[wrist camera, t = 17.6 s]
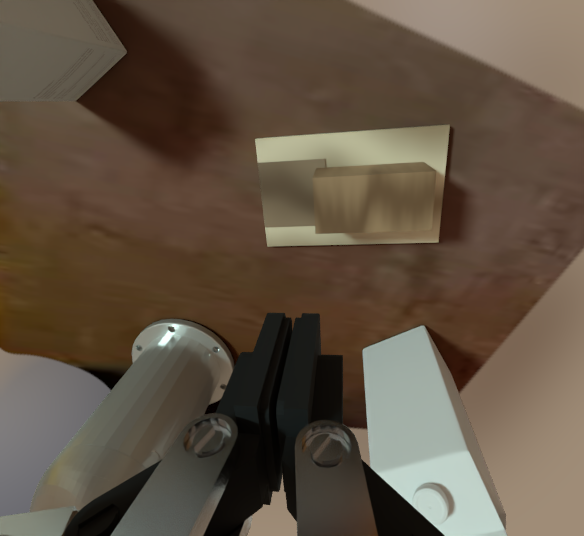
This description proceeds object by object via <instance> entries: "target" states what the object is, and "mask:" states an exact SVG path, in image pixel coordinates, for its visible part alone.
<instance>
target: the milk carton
mask: <svg viewBox="0 0 584 536" xmlns="http://www.w3.org/2000/svg"><path fill="white" fill-rule="evenodd" d="M363 365H364V380H365V395H366V410H367V425H368V440H369V454H370V468H371V469H373V470H374V471H375V472H376V473H377V474H378V475H379V476H380V477H381V478H382V479H383V480H385V481H386V482H387V483H388V484H389V485H390V486H391V487H392V488H393V489H394V490H396V491H397V492H398V493H399V494H400V495H401V496H402V497H403V498H404V499H405V500H406V501H408V502H409V503H410V504H411V505H412V506H413V507H414V508H415V509H416V510H417V511H418V512H420V513H421V514H422V515H423V516H424V517H425V518H426V519H427V520H428V521H429V522H431V523H432V524H433V525H434V526H435V527H436V528H437V529H438V530H439V531H440V532H441V533H443V534H444V535H445V536H507V533H506V514H505V511H504V509H503V506H502V504H501V501H500V498H499V496H498V493H497V491H496V488H495V485H494V483H493V480H492V478H491V475H490V472H489V470H488V467H487V465H486V462H485V460H484V457H483V454H482V452H481V449H480V447H479V444H478V442H477V439H476V437H475V434H474V431H473V429H472V426H471V424H470V421H469V418H468V416H467V413H466V410H465V408H464V405H463V403H462V400H461V398H460V395H459V392H458V390H457V387H456V385H455V382H454V379H453V377H452V374H451V372H450V371H449V369H448V367H447V365H446V363H445V362H444V360H443V358H442V356H441V354H440V353H439V351H438V349H437V347H436V345H435V344H434V342H433V340H432V338H431V337H430V335H429V333H428V331H427V329H426V328H425V326H420V327H417V328H414V329H412V330H409V331H407V332H404V333H402V334H399V335H397V336H394V337H392V338H389V339H387V340H384V341H382V342H379V343H377V344H374V345H371V346H369V347H367V348H364V349H363Z"/></svg>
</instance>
